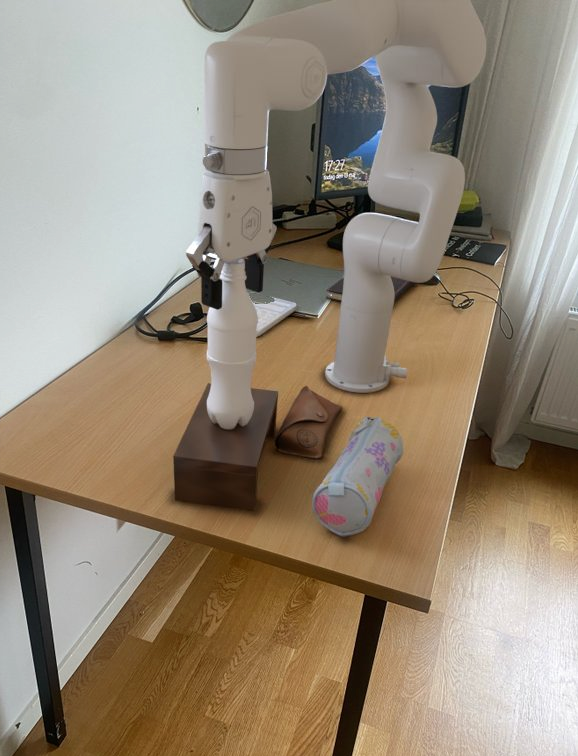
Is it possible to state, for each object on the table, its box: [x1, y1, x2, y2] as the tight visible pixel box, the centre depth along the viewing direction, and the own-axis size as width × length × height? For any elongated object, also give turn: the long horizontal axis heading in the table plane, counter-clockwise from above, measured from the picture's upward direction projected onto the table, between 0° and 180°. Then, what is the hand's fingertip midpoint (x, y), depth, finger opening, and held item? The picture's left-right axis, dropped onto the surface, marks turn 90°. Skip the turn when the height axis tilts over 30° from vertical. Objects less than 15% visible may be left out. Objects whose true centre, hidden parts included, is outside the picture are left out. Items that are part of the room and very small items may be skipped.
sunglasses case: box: [273, 385, 343, 459], centre depth 115 cm, size 18×7×7 cm
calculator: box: [253, 296, 297, 338], centre depth 155 cm, size 13×20×2 cm, turn 149°
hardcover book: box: [325, 276, 416, 304], centre depth 170 cm, size 16×23×2 cm
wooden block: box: [172, 382, 279, 512], centre depth 104 cm, size 12×22×8 cm, turn 170°
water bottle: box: [206, 258, 258, 430], centre depth 95 cm, size 7×7×25 cm
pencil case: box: [311, 416, 404, 537], centre depth 97 cm, size 21×9×10 cm, turn 156°
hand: (232, 297), depth 90 cm, fingers open, 7 cm apart
